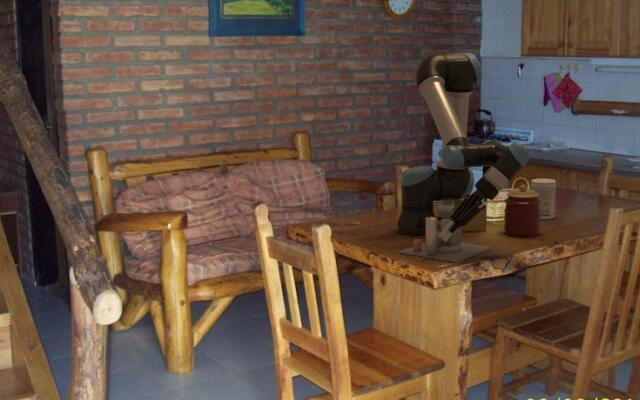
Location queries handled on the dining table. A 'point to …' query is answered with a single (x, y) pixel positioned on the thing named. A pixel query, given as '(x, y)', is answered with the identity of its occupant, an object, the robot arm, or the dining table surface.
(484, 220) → the olive yellow box
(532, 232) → the canister
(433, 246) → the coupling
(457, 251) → the square plate with uprights
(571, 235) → the dining table surface
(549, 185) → the supplement tub
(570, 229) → the dining table surface
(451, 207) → the air freshener
